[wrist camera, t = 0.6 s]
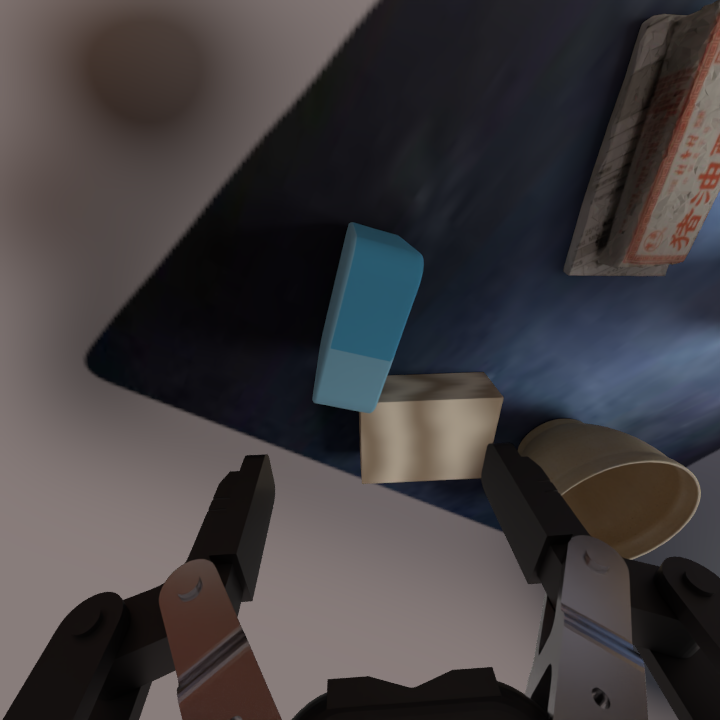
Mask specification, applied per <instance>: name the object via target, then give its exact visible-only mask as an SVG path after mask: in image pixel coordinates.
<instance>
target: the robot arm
mask: <svg viewBox="0 0 720 720" xmlns="http://www.w3.org/2000/svg"><path fill="white" fill-rule="evenodd" d="M481 480H482V486H483V489H484V491H485V494H486V496H487V498H488V500H489V502H490V504H491V506H492V508H493V511H494V513H495V515H496V517H497V519H498V521H499V523H500V525H501V527H502V530H503V532H504V534H505V536H506V538H507V540H508V542H509V544H510V546H511V548H512V551H513V553H514V555H515V557H516V559H517V561H518V564H519V566H520V568H521V570H522V572H523V574H524V576H525V578H526V580H527V583H528V584H537V583H542V585H543V587H544V589H545V591H546V594H545V597H544V603H543V609H542V615H541V621H540V627H539V633H538V639H537V645H536V651H535V657H534V662H533V666H532V670H531V673H530V676H529V679H528V684H527V688H526V693H525V694H523V693H522V692H520V691H518V690H517V689H515V688H513V687H511V686H509V685H506V684H504V683H501V682H498V681H497V680H496V677H495V674H494V671H493V668H492V667H487V668H473V669H460V670H451V671H449V672H447V673H445V674H443V675H441V676H439V677H436V678H434V679H433V680H430V681H428V682H426V683H424V684H422V685H419V686H417V687H414V688H409V687H405V686H402V685H398V684H394V683H391V682H387V681H383V680H380V679H376V678H373V677H369V676H367V677H353V678H340V679H328V685H327V693H325V694H323V695H320V696H319V697H317V698H315V699H314V700H312V701H311V702H309V703H308V704H307V705H306V706H305V707H304V708H303V709H301V710H300V711H299V712H298V713H297V714H296V716H295V717H294V718H293V719H292V720H648V710H647V695H646V681H645V668H644V663H643V660H644V662H645V663H646V665H647V667H648V668H649V670H650V672H651V674H652V675H653V677H654V679H655V680H656V682H657V684H658V685H659V687H660V689H661V690H662V692H663V694H664V696H665V697H666V699H667V700H668V702H669V704H670V706H671V707H672V709H673V711H674V712H675V714H676V716H677V717H678V719H679V720H720V578H719V577H718V576H717V575H715V574H714V573H713V572H711V571H710V570H708V569H707V568H705V567H704V566H702V565H700V564H698V563H696V562H693V561H692V560H689V559H686V558H681V557H669V558H667V559H666V560H664V562H663V563H662V564H661V566H660V567H659V566H655V565H651V564H647V563H642V562H638V561H634V560H630V559H626V558H623V557H621V556H620V555H619V553H618V552H617V551H616V550H614V549H613V548H612V547H611V546H609V545H608V544H606V543H605V542H603V541H601V540H599V539H597V538H594V537H591V536H590V534H589V533H588V532H587V530H586V529H585V528H584V526H583V525H582V523H581V522H580V521H579V519H578V518H577V516H576V515H575V514H574V512H573V511H572V509H571V508H570V507H569V505H568V504H567V503H566V501H565V500H564V498H563V497H562V496H561V494H560V493H558V490H557V489H556V487H555V486H554V484H553V483H552V482H550V479H549V477H548V476H547V475H546V473H545V472H544V470H543V469H542V468H541V467H540V466H539V465H538V464H537V463H535V462H534V461H533V460H532V459H530V458H529V457H528V456H525V457H521V456H520V454H519V453H518V451H517V450H516V448H515V447H514V445H513V444H512V443H510V442H509V443H490V444H488V446H487V449H486V454H485V458H484V463H483V468H482V473H481ZM274 499H275V484H274V479H273V474H272V469H271V465H270V460H269V456H268V455H247V456H245V458H244V460H243V463H242V466H241V468H240V471H235V472H229V474H228V475H227V476H226V477H225V478H224V479H223V480H222V481H221V482H220V484H219V486H218V488H217V490H216V493H215V495H214V497H213V501H212V502H211V505H210V507H209V511H208V512H207V514H206V516H205V519H204V522H203V524H202V526H201V528H200V531H199V533H198V536H197V538H196V540H195V543H194V545H193V547H192V550H191V552H190V555H189V557H188V559H187V561H186V562H185V564H183V565H181V566H180V567H179V568H177V569H176V570H175V571H174V572H173V573H172V574H171V575H170V576H169V577H168V579H167V580H166V582H165V583H164V584H162V585H160V586H158V587H156V588H153V589H151V590H148V591H146V592H143V593H140V594H138V595H135V596H133V597H130V598H127V599H125V600H122V598H121V597H120V596H119V595H118V594H116V593H113V592H104V593H100V594H97V595H94V596H92V597H90V598H88V599H87V600H85V601H83V602H82V603H81V604H79V605H78V606H77V607H76V608H74V609H73V610H72V611H71V612H70V613H69V614H68V615H67V616H66V617H65V618H64V620H63V621H62V622H61V624H60V625H59V627H58V628H57V630H56V631H55V633H54V635H53V636H52V638H51V640H50V642H49V643H48V645H47V646H46V648H45V650H44V652H43V653H42V655H41V657H40V658H39V660H38V661H37V663H36V665H35V667H34V668H33V670H32V672H31V673H30V675H29V677H28V678H27V680H26V682H25V683H24V685H23V686H22V688H21V690H20V691H19V693H18V695H17V697H16V698H15V700H14V701H13V703H12V705H11V707H10V708H9V710H8V711H7V713H6V715H5V717H4V718H3V720H139V718H140V715H141V712H142V709H143V706H144V703H145V701H146V697H147V695H148V692H149V689H150V686H151V683H152V681H154V680H156V679H158V678H160V677H162V676H164V675H167V674H169V673H171V672H173V671H175V670H176V673H177V678H178V683H179V687H178V688H177V697H178V703H179V707H180V712H181V716H182V720H282V719H281V717H280V714H279V712H278V710H277V707H276V705H275V703H274V701H273V698H272V696H271V693H270V691H269V689H268V686H267V684H266V682H265V679H264V677H263V675H262V672H261V670H260V668H259V666H258V663H257V661H256V659H255V656H254V654H253V652H252V650H251V647H250V645H249V642H248V640H247V638H246V636H245V633H244V632H243V630H242V627H241V625H240V623H239V620H238V618H237V616H238V613H239V608H240V604H241V602H245V601H246V602H247V601H252V600H253V596H254V591H255V587H256V582H257V577H258V573H259V568H260V564H261V559H262V555H263V550H264V545H265V541H266V537H267V532H268V527H269V523H270V518H271V514H272V509H273V504H274ZM632 644H633V645H635V647H636V648H637V650H638V652H639V653H640V654H638V653H636V652H635V651H634V650H633V645H632ZM640 655H641V656H640ZM642 658H643V659H642Z"/></svg>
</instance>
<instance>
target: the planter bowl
mask: <svg viewBox="0 0 720 720" xmlns="http://www.w3.org/2000/svg"><path fill="white" fill-rule="evenodd" d="M518 453H519V454H520V456H521V457H525V456H528V457H529V458H530V459H532V460H533V461H534V462H535V463H537V464H538V465H539V466H540V467H541V468H542V469H543V470H544V472H545V473H546V475H547V476H548V477H549V479H550V482H552V483H553V484H554V486H555V487H556V489H557V490H558V493H560V494H561V496H562V497H563V498H564V500H565V501H566V503H567V504H568V505H569V507H570V508H571V509H572V511H573V512H574V514H575V515H576V516H577V518H578V519H579V521H580V522H581V523H582V525H583V526H584V528H585V529H586V530H587V532H588V533H589V534H590V536H591V537H594V538H597V539H599V540H601V541H603V542H605V543H606V544H608V545H609V546H611V547H612V548H613V549H614V550H616V551H617V552H618V553H619V555H620V556H621V557H623V558H626V559H630V560H632V559H635V558H637V557H639V556H642V555H644V554H646V553H648V552H650V551H652V550H654V549H656V548H657V547H659V546H661V545H662V544H664V543H665V542H667V541H668V540H670V539H671V538H672V537H673V536H674V535H676V534H677V533H678V532H679V531H680V530H681V529H682V528H683V527H684V526H685V525H686V524H687V523H688V522H689V521H690V519H691V518H692V516H693V515H694V513H695V511H696V509H697V507H698V505H699V501H700V496H701V490H700V485H699V482H698V480H697V479H696V477H695V476H694V474H693V473H691V471H689V470H688V469H687V468H686V467H684V466H683V465H681V464H680V463H678V462H676V461H674V460H672V459H670V458H668V457H667V456H665V455H664V454H663V453H661V452H660V451H658V450H657V449H655V448H654V447H652V446H650V445H649V444H647V443H645V442H643V441H641V440H640V439H638V438H636V437H633V436H631V435H629V434H626V433H623V432H621V431H618V430H615V429H611V428H608V427H603V426H599V425H593V424H584V423H582V422H580V421H578V420H575V419H556V420H552V421H549V422H546V423H544V424H542V425H540V426H538V427H536V428H535V429H533V430H532V431H531V432H530V433H528V434H527V435H526V436H525V438H524V439H523V440H522V442H521V443H520V445H519V447H518Z"/></svg>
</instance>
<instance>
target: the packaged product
mask: <svg viewBox="0 0 720 720" xmlns="http://www.w3.org/2000/svg"><path fill="white" fill-rule="evenodd" d="M719 190H720V0H718V1H716V2H714V3H713V4H710V5H706V6H704V7H703V8H702V9H701V10H700V11H698V12H695V13H693V14H690V15H688V16H687V15H671V14H668V15H667V14H662V15H655V16H652V17H651V18H649V19H648V20H646V21H645V22H644V23H642V25H641V28H640V31H639V34H638V37H637V40H636V43H635V46H634V50H633V53H632V56H631V59H630V62H629V66H628V69H627V72H626V76H625V79H624V81H623V84H622V87H621V90H620V93H619V95H618V98H617V101H616V104H615V107H614V109H613V112H612V115H611V118H610V121H609V123H608V126H607V130H606V133H605V136H604V139H603V142H602V145H601V148H600V151H599V154H598V157H597V160H596V163H595V166H594V169H593V172H592V175H591V178H590V181H589V184H588V187H587V191H586V194H585V197H584V200H583V203H582V206H581V210H580V213H579V217H578V220H577V224H576V227H575V230H574V234H573V237H572V241H571V244H570V248H569V251H568V255H567V258H566V261H565V265H564V270H563V271H564V272H565V273H566V274H567V275H577V276H665V275H666V272H667V268H668V266H669V264H672V265H673V264H677V263H680V262H683V261H684V260H685V258H686V256H687V254H688V253H689V251H690V249H691V247H692V245H693V243H694V241H695V239H696V237H697V235H698V233H699V231H700V229H701V227H702V225H703V223H704V221H705V219H706V217H707V215H708V213H709V211H710V209H711V207H712V204H713V202H714V200H715V198H716V197H717V195H718V192H719Z"/></svg>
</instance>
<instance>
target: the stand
mask: <svg viewBox="0 0 720 720" xmlns="http://www.w3.org/2000/svg"><path fill="white" fill-rule="evenodd" d="M503 398H504V397H503V396H502V395H501V394H500V392H499V391H498V390H497V388H496V387H495V386H494V384H493V383H492V382H491V381H490V379H489V378H488V377H487V375H486V374H485V373H484V372H472V373H445V374H418V375H392V376H387V378H386V381H385V384H384V386H383V389H382V392H381V395H380V398H379V400H378V403H377V406H376V408H375V410H374V411H373V412H372V413H364V412H359V429H360V460H361V475H362V484H370V483H391V482H411V481H432V480H452V479H473V478H481V473H482V468H483V463H484V458H485V454H486V449H487V446H488V444H490V443H493V441H494V437H495V433H496V428H497V424H498V420H499V415H500V411H501V407H502V402H503Z"/></svg>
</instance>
